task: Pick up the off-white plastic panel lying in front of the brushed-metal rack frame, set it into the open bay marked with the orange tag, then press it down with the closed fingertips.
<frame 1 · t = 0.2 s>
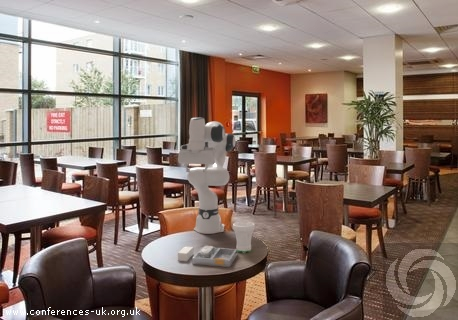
hand: (196, 172, 217), 39 cm above the table, tool pointing down, fingers open, 8 cm apart
blanking panel: (185, 257, 197), on the table
rack: (215, 259, 194), on the table
cup: (243, 251, 207), on the table
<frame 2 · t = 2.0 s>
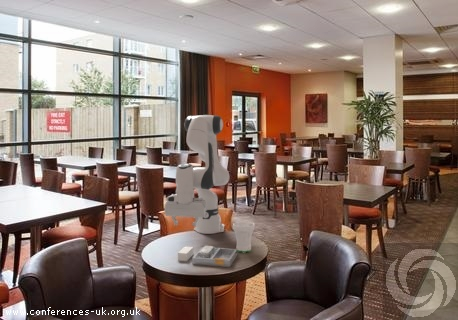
hand: (185, 225, 195), 16 cm above the table, tool pointing down, fingers open, 8 cm apart
nothing on the table moved.
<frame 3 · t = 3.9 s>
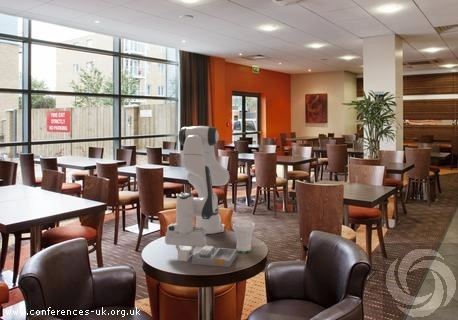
hand: (185, 254, 197), 2 cm above the table, tool pointing down, fingers closed on blanking panel, 4 cm apart
blanking panel: (185, 257, 197), on the table, touching gripper
everything else where it was.
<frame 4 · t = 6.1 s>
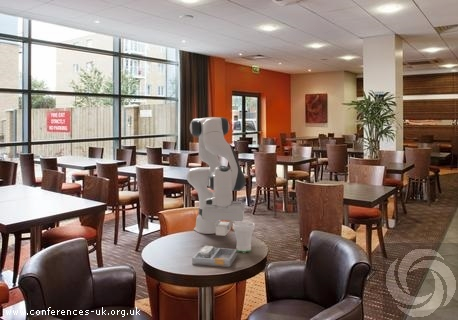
hand: (223, 229, 191), 15 cm above the table, tool pointing down, fingers closed on blanking panel, 4 cm apart
blanking panel: (223, 232, 192), point 14 cm above the table, touching gripper
everything else where it was.
when the fingers open (4 cm above the table, at t = 8.7 s): blanking panel drops 1 cm, resting on rack.
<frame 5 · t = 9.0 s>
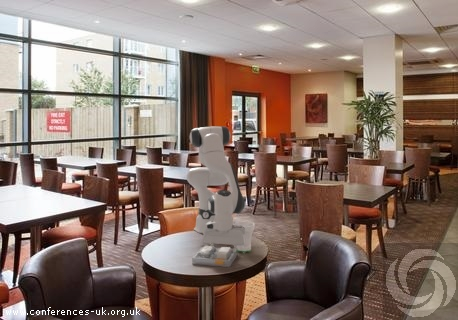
hand: (223, 252, 193), 4 cm above the table, tool pointing down, fingers open, 8 cm apart
blanking panel: (223, 258, 193), point 1 cm above the table, touching rack
everything else where it was.
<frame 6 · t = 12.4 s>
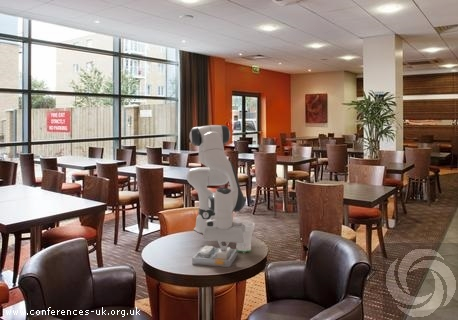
hand: (223, 250, 193), 5 cm above the table, tool pointing down, fingers closed, pressing on blanking panel
blanking panel: (223, 258, 193), point 1 cm above the table, touching gripper, rack
everything else where it was.
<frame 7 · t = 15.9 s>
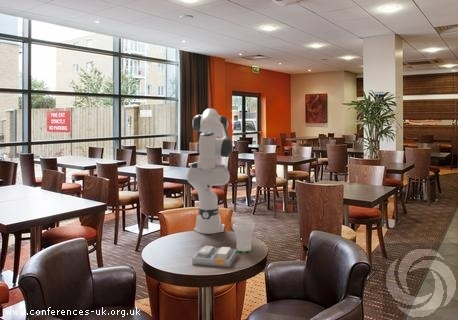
hand: (207, 191, 204), 31 cm above the table, tool pointing down, fingers closed
blanking panel: (223, 258, 193), point 1 cm above the table, touching rack
everything else where it was.
at the end: blanking panel 0.1 cm from the target spot on the rack, point 0.8 cm above the rack's base; blanking panel tilted 0°; the gripper is holding nothing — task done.
